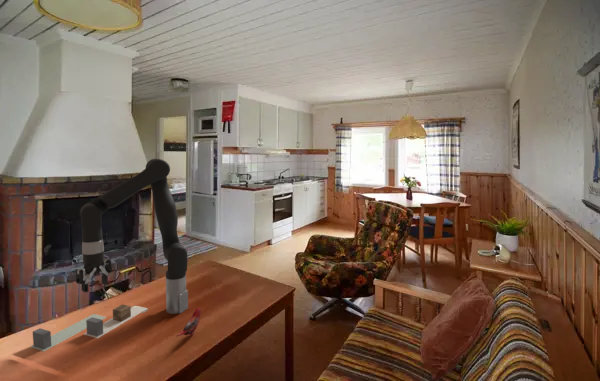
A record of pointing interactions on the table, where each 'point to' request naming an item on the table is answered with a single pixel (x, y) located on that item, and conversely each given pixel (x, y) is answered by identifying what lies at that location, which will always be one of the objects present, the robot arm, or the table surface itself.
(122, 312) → the walnut block
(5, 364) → the table surface
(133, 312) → the cream strip
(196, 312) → the decorative bird figurine
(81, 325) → the sage strip
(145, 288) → the table surface
